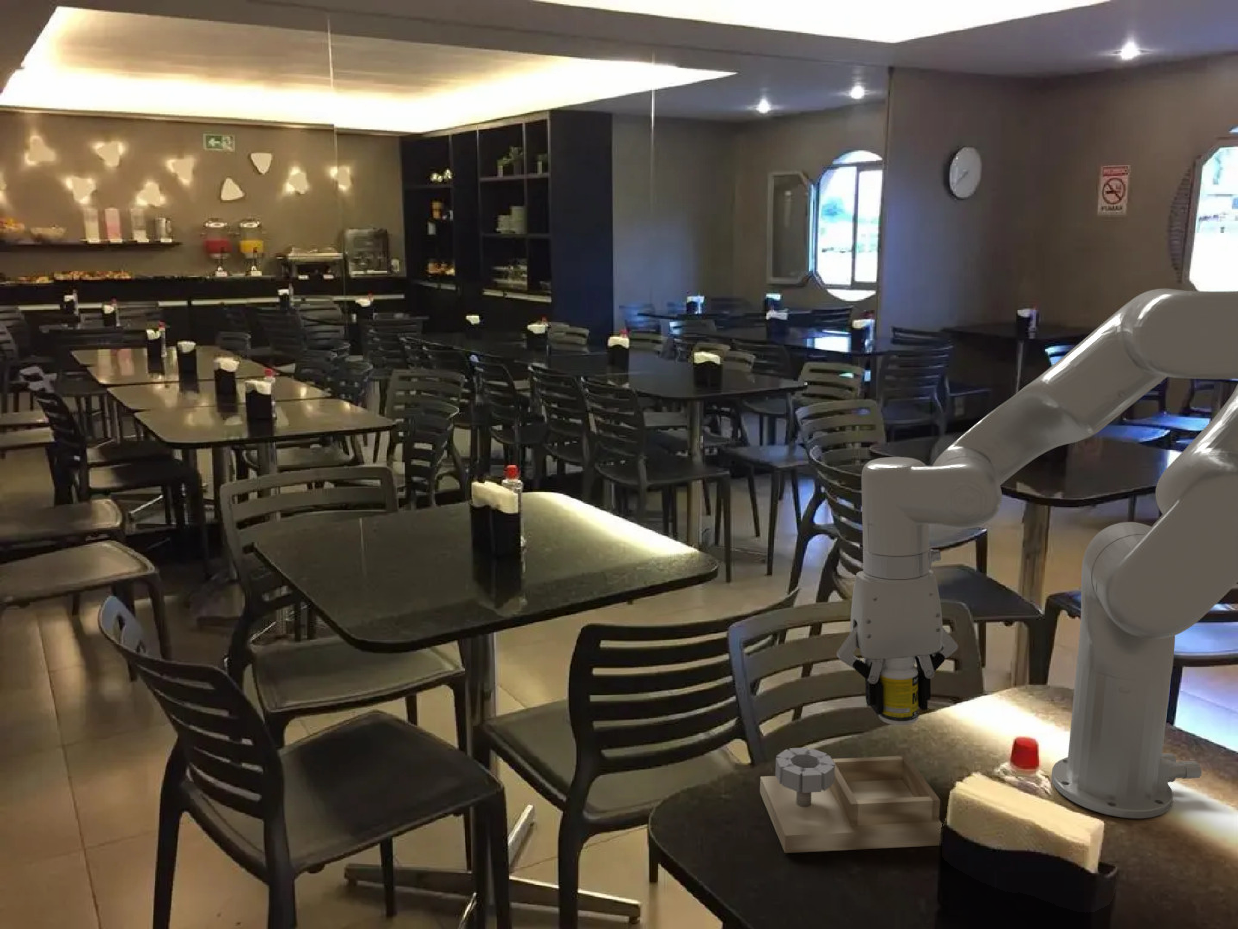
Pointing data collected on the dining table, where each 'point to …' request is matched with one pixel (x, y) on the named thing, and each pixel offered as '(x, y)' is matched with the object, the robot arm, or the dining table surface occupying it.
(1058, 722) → the dining table surface
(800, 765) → the wheel
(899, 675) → the supplement bottle
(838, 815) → the wooden peg tray
